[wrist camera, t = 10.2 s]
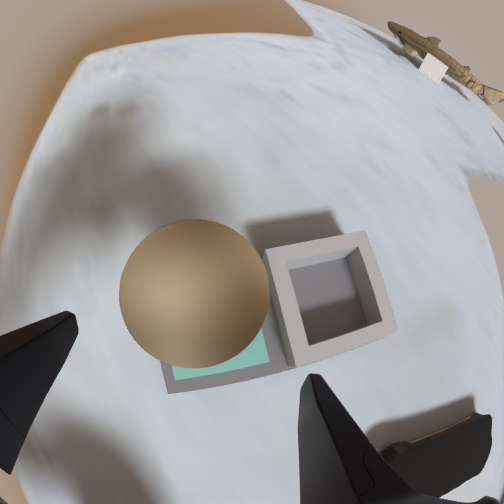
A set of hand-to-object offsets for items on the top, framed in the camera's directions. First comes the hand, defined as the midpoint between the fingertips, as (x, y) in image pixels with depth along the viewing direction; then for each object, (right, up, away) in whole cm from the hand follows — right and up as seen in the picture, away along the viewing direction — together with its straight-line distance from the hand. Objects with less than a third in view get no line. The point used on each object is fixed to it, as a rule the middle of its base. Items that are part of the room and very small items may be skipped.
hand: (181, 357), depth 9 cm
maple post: (-1, -2, +11) cm, 11 cm away
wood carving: (+49, +47, +36) cm, 77 cm away
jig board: (+4, -1, +13) cm, 13 cm away
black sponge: (+21, -18, +8) cm, 29 cm away
